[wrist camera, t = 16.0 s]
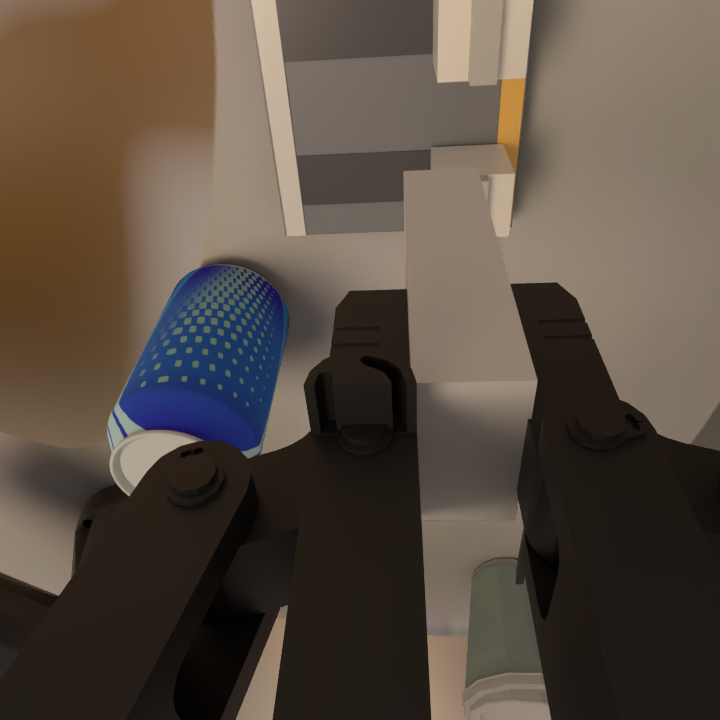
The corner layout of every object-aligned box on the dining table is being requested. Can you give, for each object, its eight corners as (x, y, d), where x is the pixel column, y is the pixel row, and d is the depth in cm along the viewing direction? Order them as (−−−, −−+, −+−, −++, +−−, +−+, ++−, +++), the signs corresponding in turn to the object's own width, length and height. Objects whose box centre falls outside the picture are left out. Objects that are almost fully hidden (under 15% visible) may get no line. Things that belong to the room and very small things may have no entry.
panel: (289, 220, 40) (273, 280, 34) (215, -287, 25) (164, -330, 20) (506, 212, 39) (526, 271, 33) (558, -321, 24) (608, -377, 19)
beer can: (166, 329, 46) (83, 502, 34) (188, 237, 41) (100, 399, 28) (272, 364, 48) (231, 539, 35) (307, 279, 43) (272, 449, 30)
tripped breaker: (432, 59, 31) (438, 87, 27) (433, -20, 29) (439, -2, 25) (511, 55, 31) (528, 83, 27) (518, -26, 29) (538, -8, 25)
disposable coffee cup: (498, 609, 69) (520, 759, 58) (429, 574, 65) (437, 727, 54) (573, 571, 64) (613, 728, 52) (502, 530, 60) (528, 690, 48)
